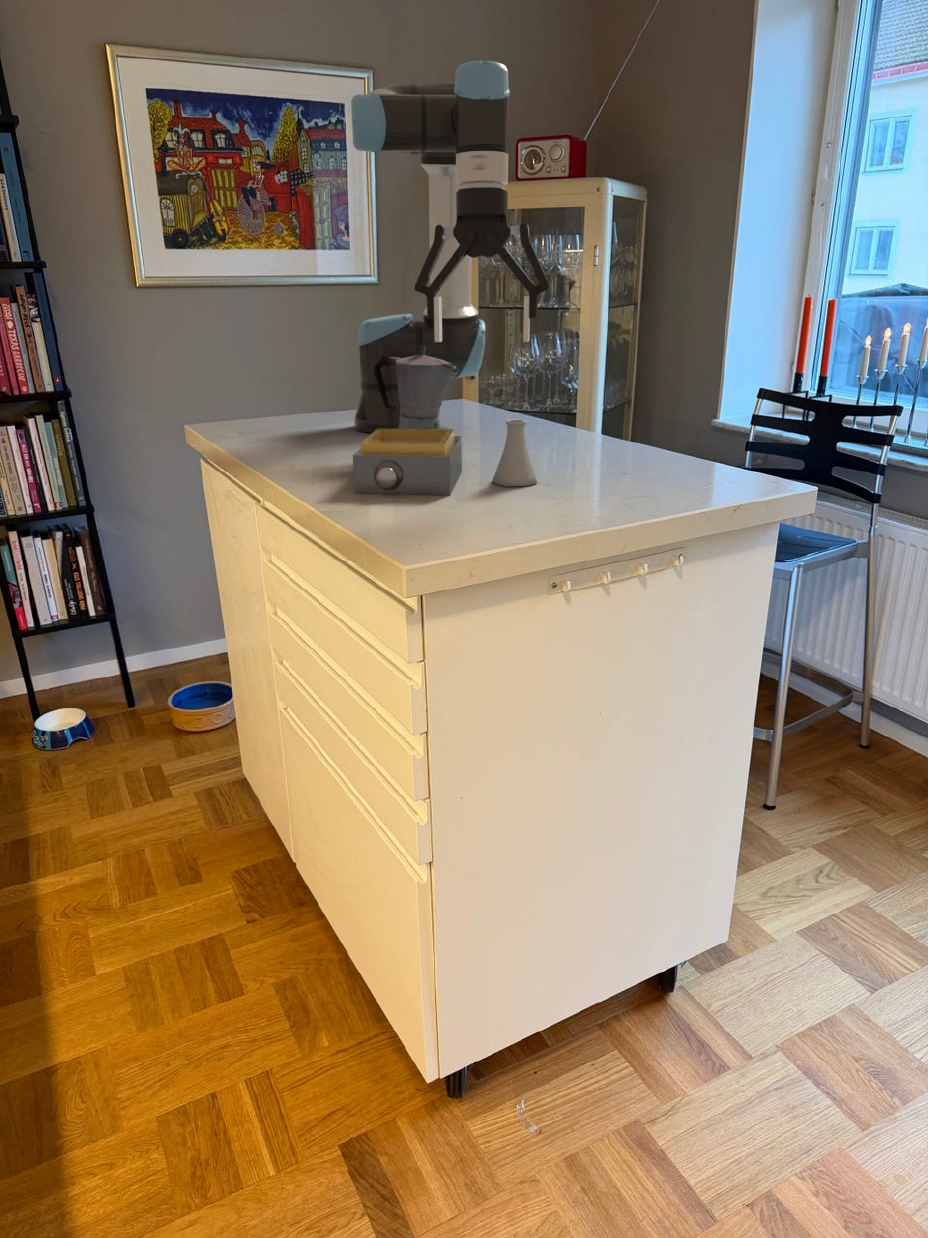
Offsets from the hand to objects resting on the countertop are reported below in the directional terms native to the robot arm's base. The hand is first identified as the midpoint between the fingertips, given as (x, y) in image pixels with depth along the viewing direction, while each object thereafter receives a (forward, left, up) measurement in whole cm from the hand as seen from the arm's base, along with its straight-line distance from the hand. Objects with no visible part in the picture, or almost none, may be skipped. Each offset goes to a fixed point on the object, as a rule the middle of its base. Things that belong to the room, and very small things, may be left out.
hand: (482, 341), depth 133 cm
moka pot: (-18, -14, -22) cm, 32 cm away
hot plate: (+2, -12, -22) cm, 25 cm away
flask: (0, +5, -22) cm, 23 cm away
